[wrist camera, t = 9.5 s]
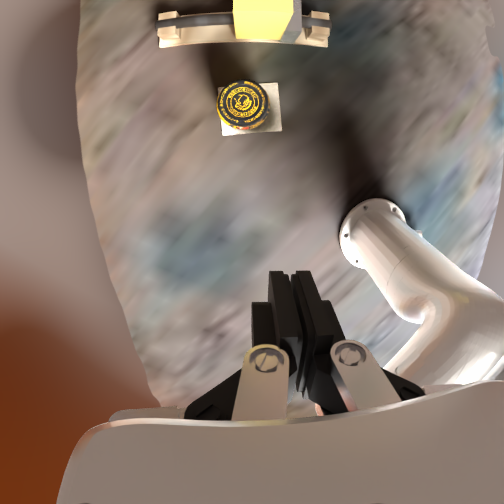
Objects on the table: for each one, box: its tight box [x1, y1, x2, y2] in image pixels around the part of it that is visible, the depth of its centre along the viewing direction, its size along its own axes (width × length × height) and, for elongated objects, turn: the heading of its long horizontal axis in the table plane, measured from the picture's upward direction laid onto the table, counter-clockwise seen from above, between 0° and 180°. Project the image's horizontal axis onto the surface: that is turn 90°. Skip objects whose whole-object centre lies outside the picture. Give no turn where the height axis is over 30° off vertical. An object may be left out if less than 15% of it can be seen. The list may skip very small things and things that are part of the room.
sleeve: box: [233, 0, 293, 40], centre depth 24 cm, size 6×5×11 cm
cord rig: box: [155, 11, 332, 48], centre depth 29 cm, size 24×5×5 cm, turn 89°
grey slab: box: [279, 0, 302, 44], centre depth 28 cm, size 2×5×6 cm, turn 0°
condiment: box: [217, 79, 282, 136], centre depth 31 cm, size 7×8×12 cm
